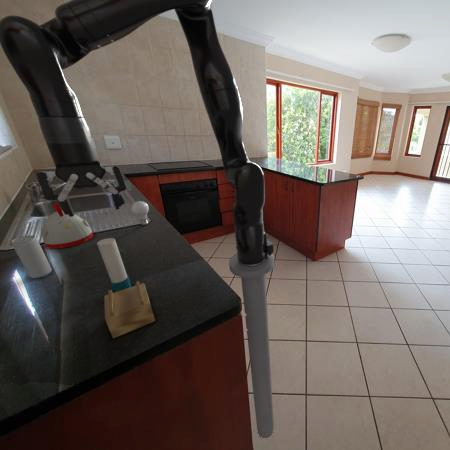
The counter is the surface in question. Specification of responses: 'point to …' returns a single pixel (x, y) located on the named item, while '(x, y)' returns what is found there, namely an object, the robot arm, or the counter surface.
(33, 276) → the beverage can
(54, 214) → the kitchen timer
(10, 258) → the counter surface
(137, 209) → the lightbulb
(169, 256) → the counter surface
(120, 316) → the cradle
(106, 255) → the marker
